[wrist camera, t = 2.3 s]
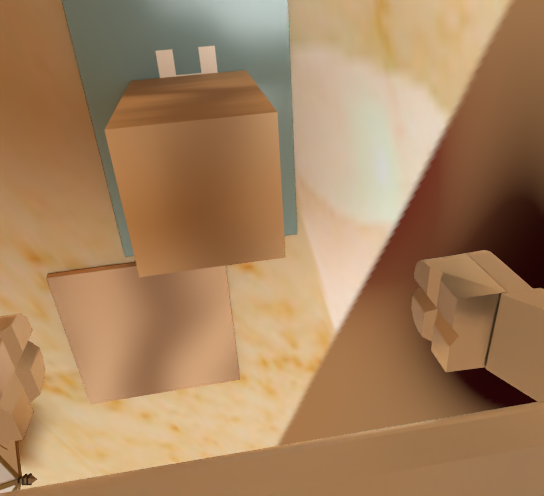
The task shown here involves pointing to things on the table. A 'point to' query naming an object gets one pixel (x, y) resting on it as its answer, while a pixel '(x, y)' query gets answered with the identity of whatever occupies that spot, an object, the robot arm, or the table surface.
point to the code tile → (182, 63)
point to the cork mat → (146, 329)
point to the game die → (12, 468)
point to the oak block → (198, 172)
